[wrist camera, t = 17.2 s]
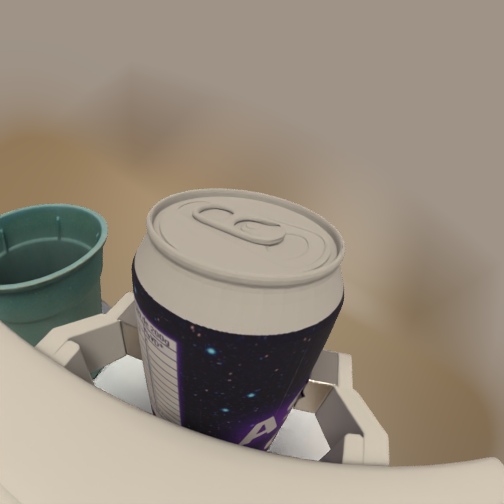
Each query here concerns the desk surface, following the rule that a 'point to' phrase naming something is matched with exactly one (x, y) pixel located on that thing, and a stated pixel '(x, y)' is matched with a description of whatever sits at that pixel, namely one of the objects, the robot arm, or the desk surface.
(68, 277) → the flower pot
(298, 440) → the desk surface
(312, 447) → the desk surface
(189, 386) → the beverage can
